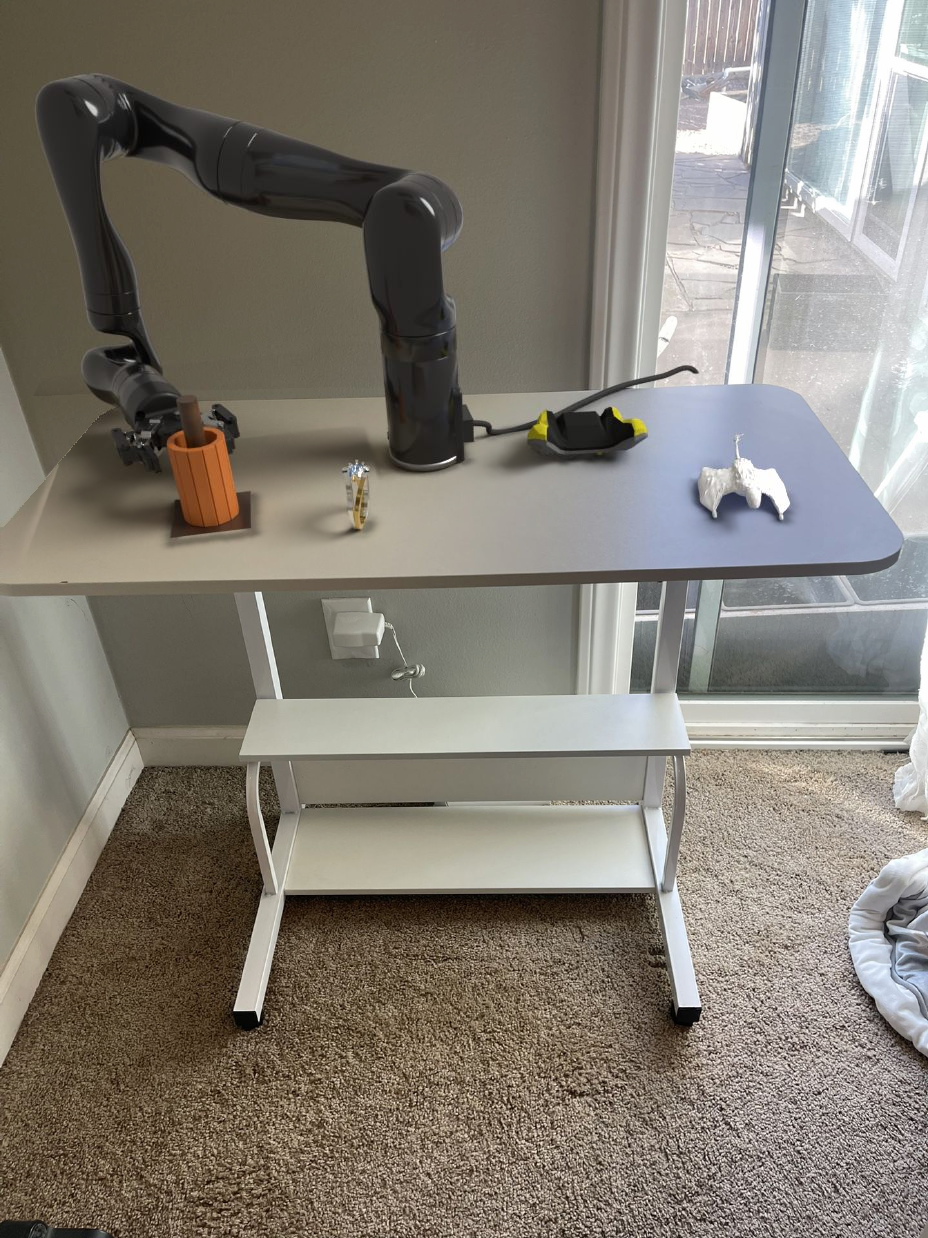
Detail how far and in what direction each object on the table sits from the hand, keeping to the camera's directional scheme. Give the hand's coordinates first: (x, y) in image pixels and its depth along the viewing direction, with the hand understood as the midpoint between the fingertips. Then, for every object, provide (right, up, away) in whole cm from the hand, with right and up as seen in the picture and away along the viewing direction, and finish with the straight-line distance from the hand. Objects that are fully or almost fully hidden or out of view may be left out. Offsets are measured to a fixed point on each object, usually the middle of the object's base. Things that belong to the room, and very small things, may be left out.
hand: (193, 456), depth 106 cm
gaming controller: (+47, +3, +13) cm, 49 cm away
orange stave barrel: (+2, -6, +2) cm, 7 cm away
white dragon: (+64, -4, +4) cm, 64 cm away
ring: (+20, -8, 0) cm, 21 cm away
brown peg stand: (+2, -7, +2) cm, 8 cm away
